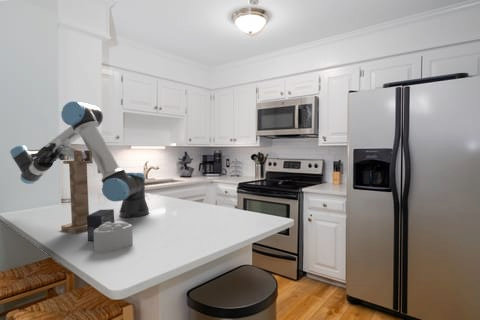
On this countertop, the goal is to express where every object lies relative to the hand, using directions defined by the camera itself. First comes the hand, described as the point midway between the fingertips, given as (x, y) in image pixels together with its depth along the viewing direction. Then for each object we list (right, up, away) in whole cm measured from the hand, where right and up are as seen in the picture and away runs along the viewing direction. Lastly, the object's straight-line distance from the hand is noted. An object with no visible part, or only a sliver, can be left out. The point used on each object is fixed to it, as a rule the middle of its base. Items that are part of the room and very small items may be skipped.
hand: (64, 140), depth 130 cm
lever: (+2, -6, -1) cm, 7 cm away
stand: (+9, -40, -2) cm, 41 cm away
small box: (+25, -41, -14) cm, 50 cm away
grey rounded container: (+34, -42, -25) cm, 59 cm away
